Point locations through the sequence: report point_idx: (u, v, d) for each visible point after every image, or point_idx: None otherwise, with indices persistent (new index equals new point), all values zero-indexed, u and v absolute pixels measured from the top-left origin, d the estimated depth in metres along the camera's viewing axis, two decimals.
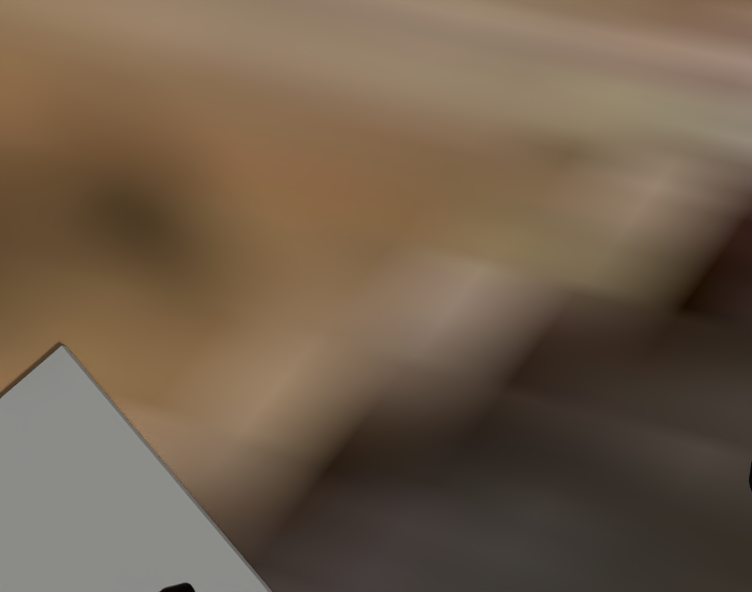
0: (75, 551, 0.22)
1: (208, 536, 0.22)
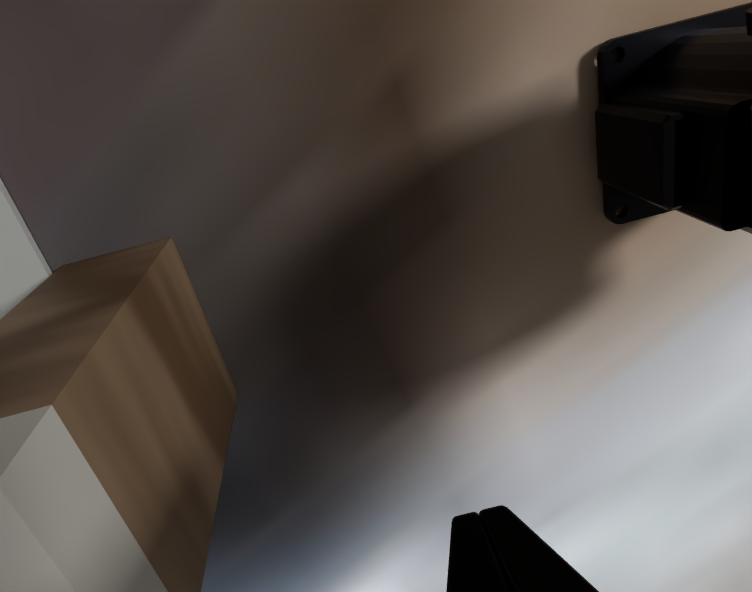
0: None
1: None
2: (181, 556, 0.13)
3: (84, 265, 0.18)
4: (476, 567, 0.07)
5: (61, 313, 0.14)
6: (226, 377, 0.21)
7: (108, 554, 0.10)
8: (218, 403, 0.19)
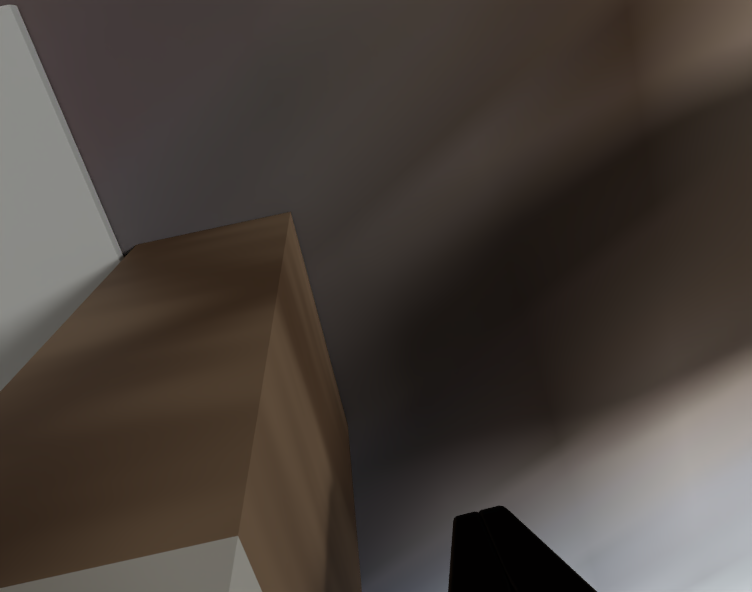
0: None
1: None
2: None
3: (172, 245, 0.13)
4: (477, 567, 0.07)
5: (168, 318, 0.09)
6: (340, 406, 0.16)
7: None
8: (342, 445, 0.14)
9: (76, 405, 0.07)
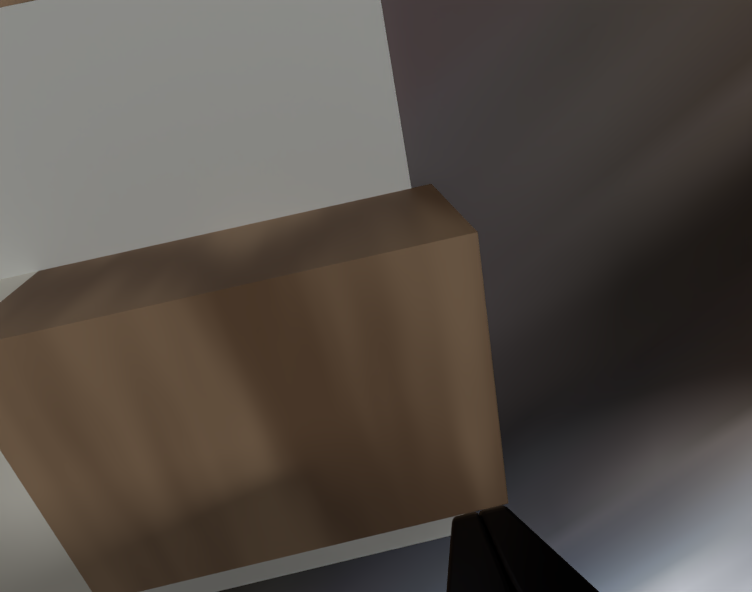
0: (25, 247, 0.13)
1: (81, 15, 0.11)
2: (122, 552, 0.12)
3: (408, 201, 0.12)
4: (476, 567, 0.07)
5: (220, 257, 0.11)
6: (482, 472, 0.12)
7: None
8: (404, 487, 0.12)
9: (128, 268, 0.12)
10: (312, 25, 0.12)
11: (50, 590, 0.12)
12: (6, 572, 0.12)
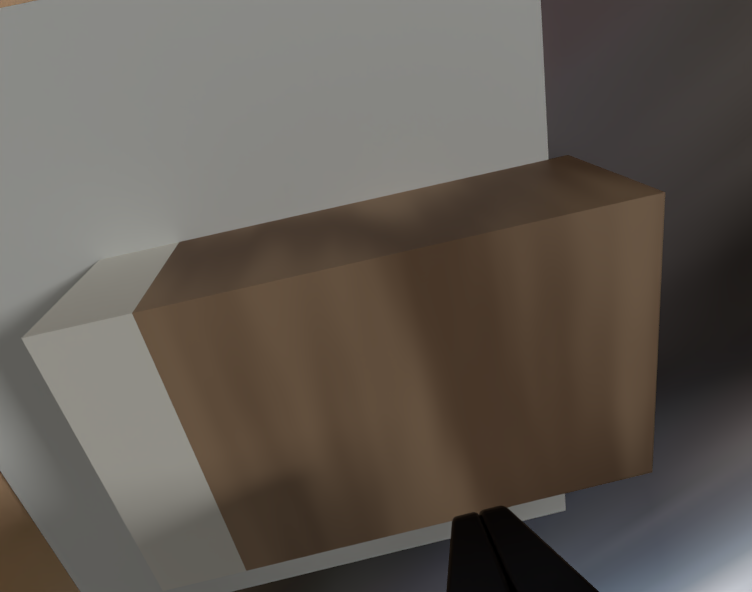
0: (168, 217, 0.13)
1: None
2: (277, 520, 0.12)
3: (557, 170, 0.12)
4: (476, 567, 0.07)
5: (383, 223, 0.11)
6: (632, 440, 0.12)
7: (146, 452, 0.11)
8: (555, 455, 0.12)
9: (284, 236, 0.12)
10: None
11: (202, 559, 0.12)
12: (163, 540, 0.12)
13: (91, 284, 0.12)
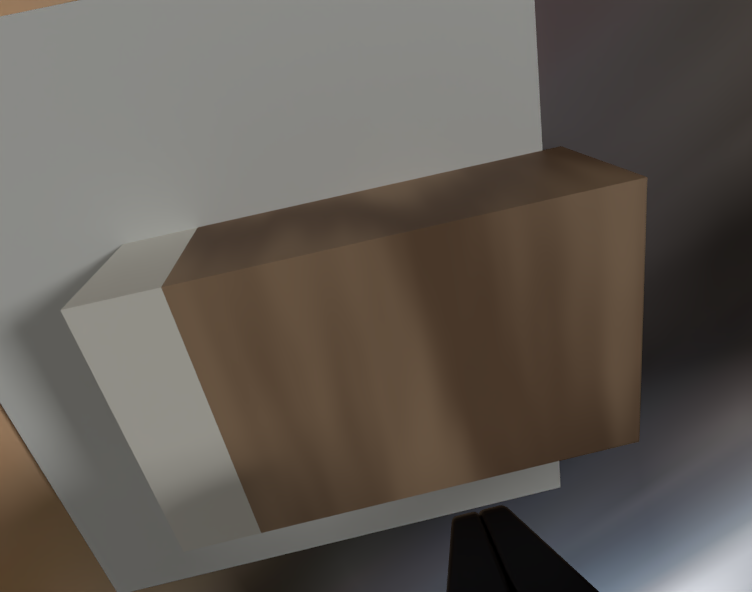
0: (188, 204, 0.14)
1: None
2: (290, 484, 0.13)
3: (550, 160, 0.13)
4: (476, 567, 0.07)
5: (389, 208, 0.12)
6: (619, 410, 0.13)
7: (171, 418, 0.12)
8: (549, 424, 0.13)
9: (296, 220, 0.13)
10: None
11: (220, 521, 0.13)
12: (185, 502, 0.13)
13: (118, 264, 0.12)
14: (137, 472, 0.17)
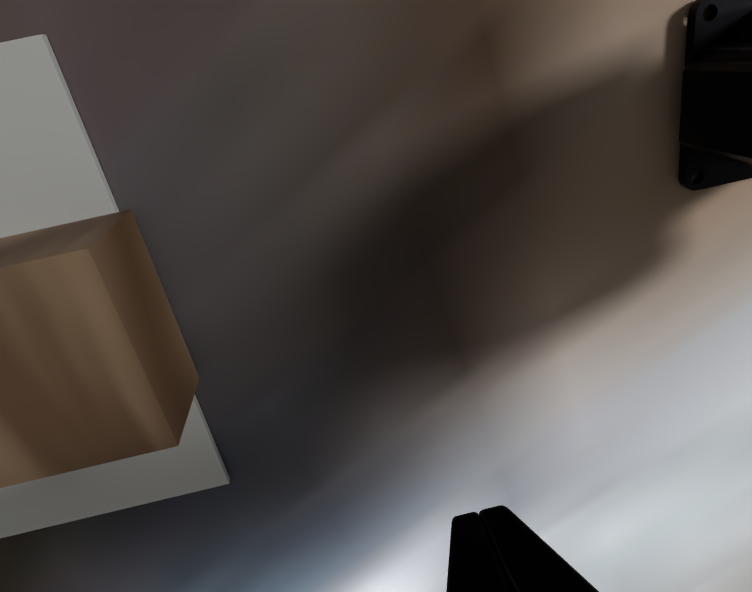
0: None
1: None
2: None
3: (96, 224, 0.17)
4: (476, 567, 0.07)
5: None
6: (148, 421, 0.17)
7: None
8: (90, 432, 0.17)
9: None
10: (12, 97, 0.16)
11: None
12: None
13: None
14: None
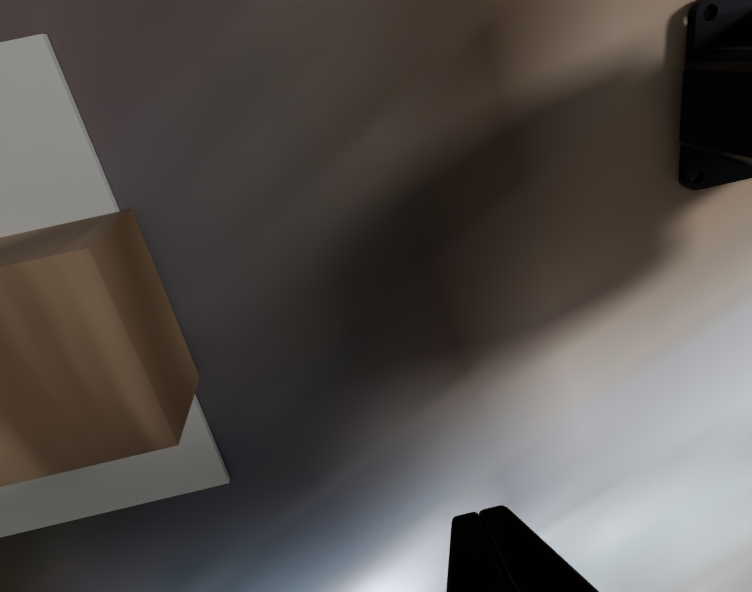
0: None
1: None
2: None
3: (96, 223, 0.17)
4: (476, 567, 0.07)
5: None
6: (149, 420, 0.17)
7: None
8: (90, 432, 0.17)
9: None
10: (12, 97, 0.16)
11: None
12: None
13: None
14: None
